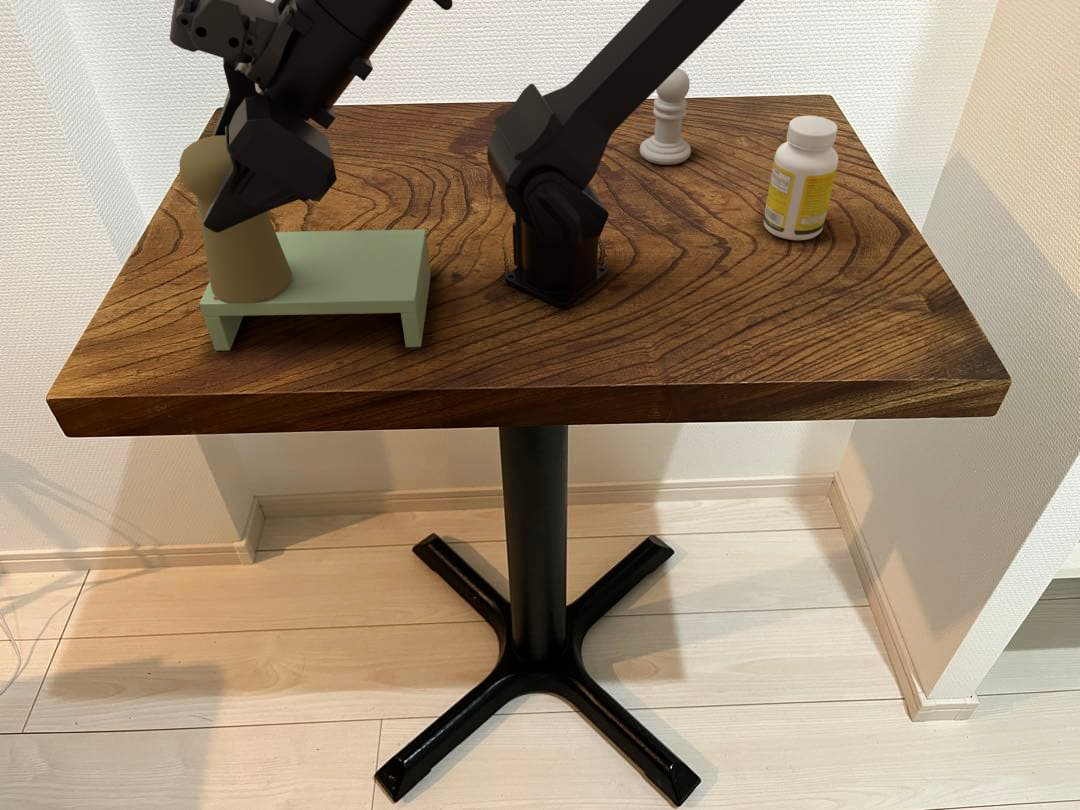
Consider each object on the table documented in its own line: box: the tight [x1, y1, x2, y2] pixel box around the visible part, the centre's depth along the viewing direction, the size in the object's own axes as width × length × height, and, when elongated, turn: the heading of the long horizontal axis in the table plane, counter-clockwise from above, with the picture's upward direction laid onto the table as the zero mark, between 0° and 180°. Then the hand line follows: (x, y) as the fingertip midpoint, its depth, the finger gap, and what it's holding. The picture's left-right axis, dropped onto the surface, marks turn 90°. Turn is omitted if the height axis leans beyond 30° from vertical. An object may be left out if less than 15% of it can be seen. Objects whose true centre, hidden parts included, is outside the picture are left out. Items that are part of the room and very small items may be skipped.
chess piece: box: [639, 67, 692, 166], centre depth 87 cm, size 5×5×9 cm
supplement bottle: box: [763, 115, 839, 241], centre depth 76 cm, size 5×5×10 cm
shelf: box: [199, 228, 432, 352], centre depth 69 cm, size 10×16×5 cm, turn 91°
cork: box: [179, 135, 292, 303], centre depth 62 cm, size 6×6×11 cm
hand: (209, 195), depth 60 cm, fingers open, 9 cm apart
